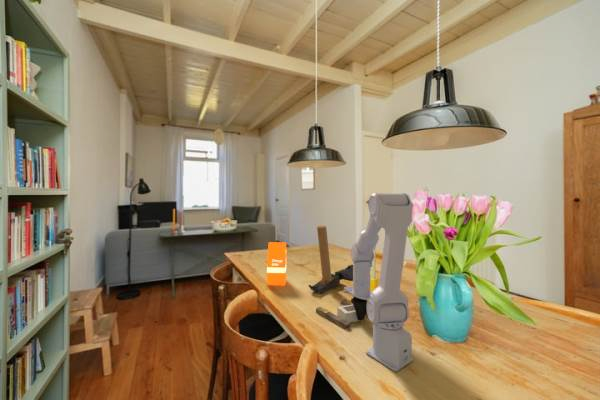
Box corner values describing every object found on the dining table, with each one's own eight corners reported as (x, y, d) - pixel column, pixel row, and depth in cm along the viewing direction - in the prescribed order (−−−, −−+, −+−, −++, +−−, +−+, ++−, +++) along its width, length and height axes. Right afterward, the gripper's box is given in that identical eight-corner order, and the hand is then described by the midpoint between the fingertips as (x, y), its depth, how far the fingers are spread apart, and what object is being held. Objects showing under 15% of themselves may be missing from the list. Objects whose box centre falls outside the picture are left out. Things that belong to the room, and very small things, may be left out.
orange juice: (285, 285, 124) (285, 243, 123) (266, 285, 124) (267, 243, 123) (286, 280, 131) (286, 240, 131) (269, 279, 132) (269, 240, 131)
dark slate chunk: (329, 276, 140) (329, 267, 140) (351, 268, 156) (351, 260, 156) (354, 283, 130) (354, 273, 129) (375, 273, 146) (375, 265, 146)
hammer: (318, 300, 112) (310, 233, 107) (309, 297, 115) (302, 232, 111) (343, 281, 126) (338, 221, 122) (335, 278, 130) (329, 220, 125)
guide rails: (375, 316, 93) (375, 311, 93) (345, 329, 84) (345, 323, 84) (344, 302, 105) (344, 298, 105) (315, 312, 96) (315, 307, 96)
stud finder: (365, 319, 91) (365, 309, 91) (345, 323, 88) (345, 313, 88) (356, 313, 96) (356, 303, 96) (337, 316, 93) (337, 306, 93)
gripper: (387, 283, 84) (386, 325, 85) (353, 272, 96) (352, 308, 96) (373, 288, 80) (372, 331, 81) (339, 276, 92) (339, 313, 92)
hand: (360, 319), depth 88 cm, fingers closed
